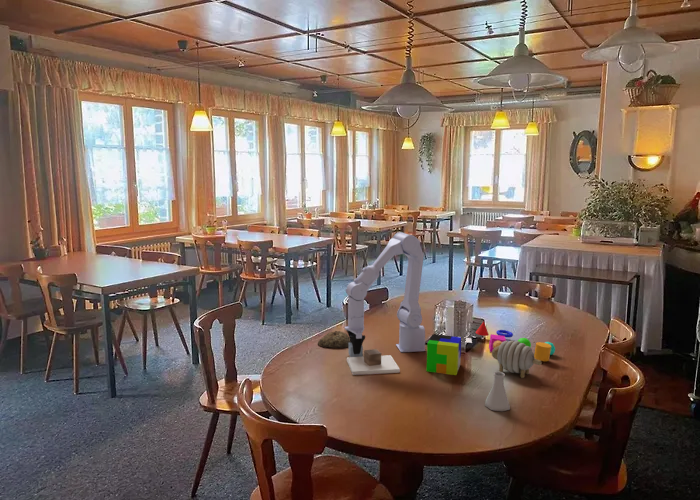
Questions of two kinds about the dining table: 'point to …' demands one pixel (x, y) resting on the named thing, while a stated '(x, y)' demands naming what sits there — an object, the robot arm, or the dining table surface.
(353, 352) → the slate block
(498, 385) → the flask
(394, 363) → the baseplate
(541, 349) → the shape set
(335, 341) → the bread roll
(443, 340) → the puzzle toy
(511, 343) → the toy sheep
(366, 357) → the walnut block
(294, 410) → the dining table surface
